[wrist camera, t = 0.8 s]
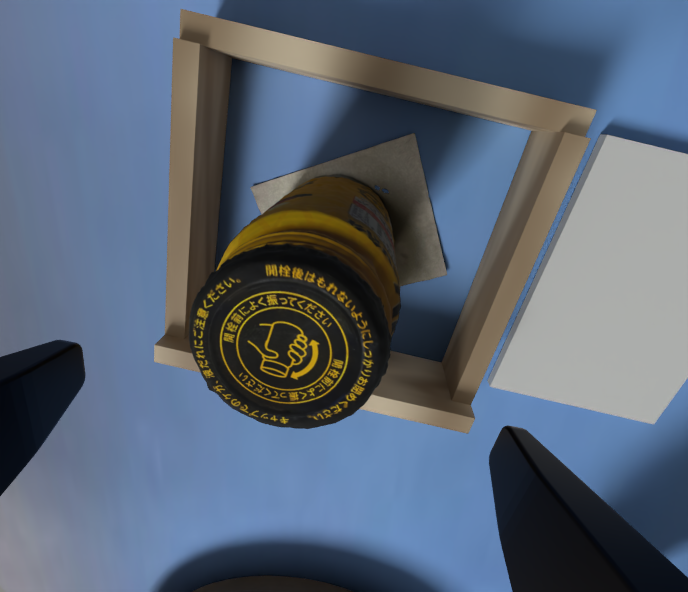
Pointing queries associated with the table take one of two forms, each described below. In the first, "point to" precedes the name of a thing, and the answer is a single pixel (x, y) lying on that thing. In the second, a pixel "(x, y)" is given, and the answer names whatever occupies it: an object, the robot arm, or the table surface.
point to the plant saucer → (270, 585)
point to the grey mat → (610, 291)
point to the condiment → (317, 287)
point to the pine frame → (396, 81)
